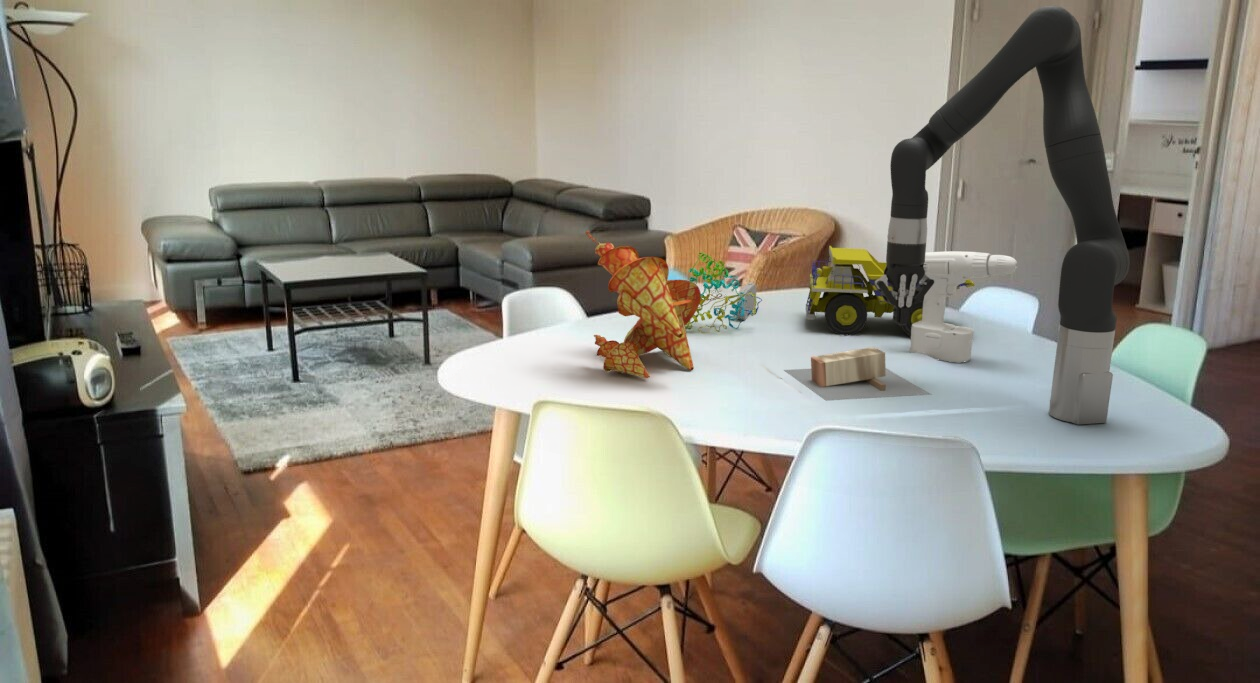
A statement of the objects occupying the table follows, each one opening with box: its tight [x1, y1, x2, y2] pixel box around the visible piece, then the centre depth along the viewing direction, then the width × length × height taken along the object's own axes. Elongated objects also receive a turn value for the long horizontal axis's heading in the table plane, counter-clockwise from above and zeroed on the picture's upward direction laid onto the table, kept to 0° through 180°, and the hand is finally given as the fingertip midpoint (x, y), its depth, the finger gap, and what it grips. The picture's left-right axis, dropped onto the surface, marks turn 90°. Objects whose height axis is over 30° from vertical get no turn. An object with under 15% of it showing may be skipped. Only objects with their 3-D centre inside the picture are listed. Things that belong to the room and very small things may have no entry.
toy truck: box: [805, 245, 975, 338], centre depth 243 cm, size 24×40×20 cm, turn 81°
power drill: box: [909, 250, 1018, 363], centre depth 213 cm, size 8×24×25 cm, turn 51°
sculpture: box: [584, 230, 702, 379], centre depth 205 cm, size 33×28×35 cm
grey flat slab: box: [736, 281, 757, 321], centre depth 258 cm, size 20×2×8 cm, turn 163°
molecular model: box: [685, 252, 763, 334], centre depth 239 cm, size 23×21×15 cm
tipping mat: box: [783, 368, 932, 401], centre depth 193 cm, size 22×22×2 cm
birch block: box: [810, 346, 887, 387], centre depth 192 cm, size 5×5×14 cm
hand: (900, 324), depth 191 cm, fingers closed
